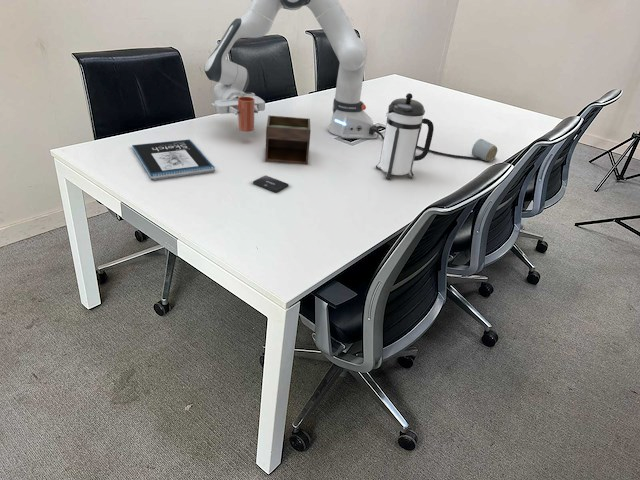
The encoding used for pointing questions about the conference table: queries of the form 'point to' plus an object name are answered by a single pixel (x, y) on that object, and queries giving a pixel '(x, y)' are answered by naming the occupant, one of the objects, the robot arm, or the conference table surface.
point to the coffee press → (403, 136)
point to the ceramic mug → (484, 150)
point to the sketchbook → (172, 159)
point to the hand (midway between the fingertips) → (247, 111)
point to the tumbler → (246, 114)
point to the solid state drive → (270, 183)
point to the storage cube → (287, 139)
